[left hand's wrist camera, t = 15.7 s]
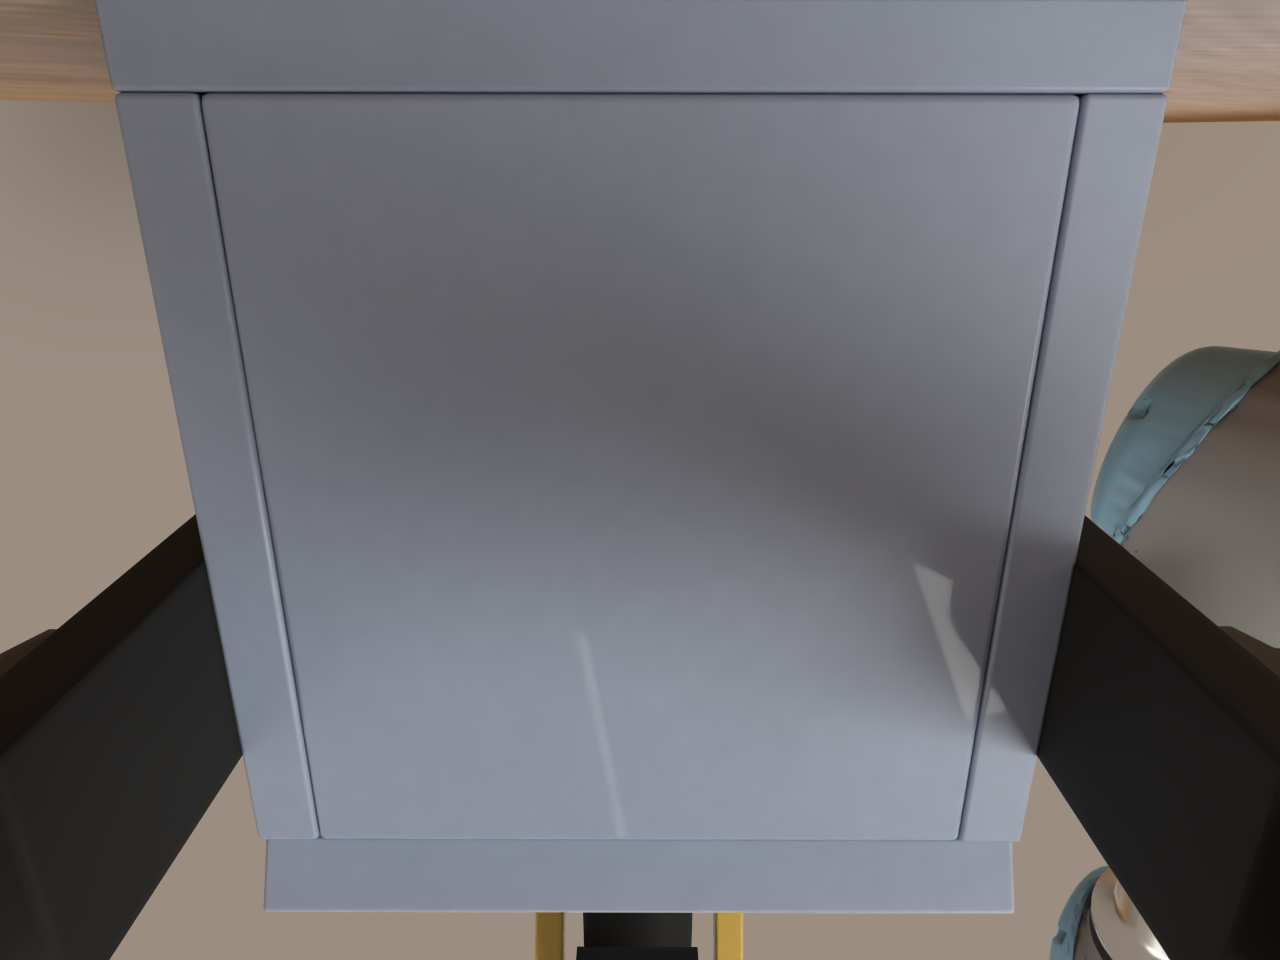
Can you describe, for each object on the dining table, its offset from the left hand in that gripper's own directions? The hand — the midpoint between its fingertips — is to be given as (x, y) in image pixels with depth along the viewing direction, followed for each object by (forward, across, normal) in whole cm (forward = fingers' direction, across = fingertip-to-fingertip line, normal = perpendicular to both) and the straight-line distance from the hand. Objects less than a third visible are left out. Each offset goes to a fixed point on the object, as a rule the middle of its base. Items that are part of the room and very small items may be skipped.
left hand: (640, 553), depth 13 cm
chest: (+4, 0, -7) cm, 8 cm away
